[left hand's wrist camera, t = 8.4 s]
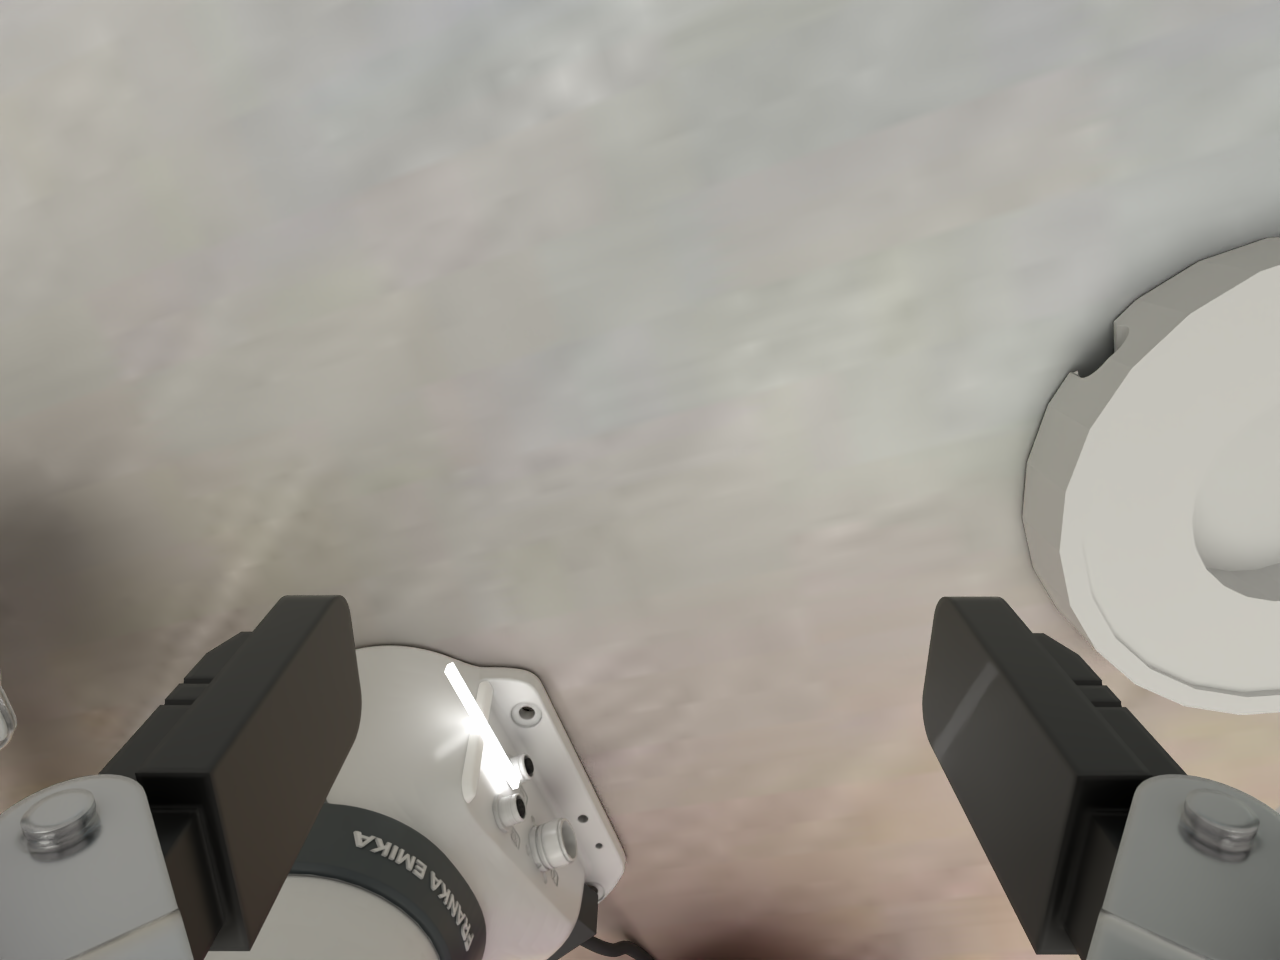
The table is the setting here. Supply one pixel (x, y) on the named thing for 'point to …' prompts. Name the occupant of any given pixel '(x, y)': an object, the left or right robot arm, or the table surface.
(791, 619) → the table surface
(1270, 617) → the ashtray
